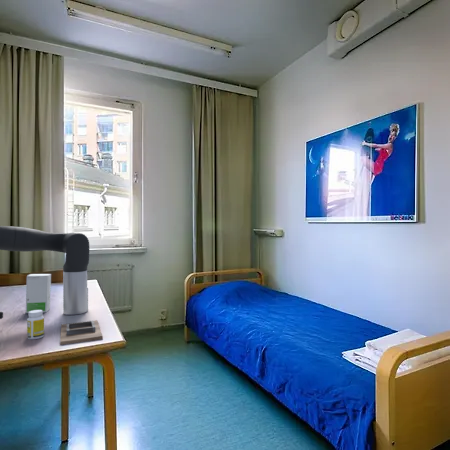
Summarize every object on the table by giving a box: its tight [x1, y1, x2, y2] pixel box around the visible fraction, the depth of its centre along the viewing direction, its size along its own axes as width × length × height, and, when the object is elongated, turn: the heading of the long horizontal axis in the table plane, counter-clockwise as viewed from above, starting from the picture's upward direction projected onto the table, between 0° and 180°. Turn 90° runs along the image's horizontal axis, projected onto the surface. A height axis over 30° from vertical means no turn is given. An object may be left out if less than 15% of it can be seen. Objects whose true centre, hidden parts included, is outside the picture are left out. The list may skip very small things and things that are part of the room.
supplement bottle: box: [26, 310, 45, 340], centre depth 108 cm, size 5×5×8 cm
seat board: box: [59, 319, 103, 346], centre depth 112 cm, size 20×12×2 cm, turn 25°
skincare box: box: [25, 273, 52, 314], centre depth 142 cm, size 8×7×16 cm
